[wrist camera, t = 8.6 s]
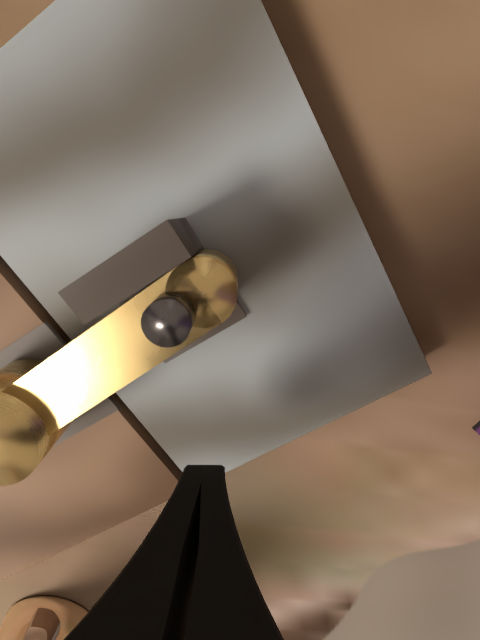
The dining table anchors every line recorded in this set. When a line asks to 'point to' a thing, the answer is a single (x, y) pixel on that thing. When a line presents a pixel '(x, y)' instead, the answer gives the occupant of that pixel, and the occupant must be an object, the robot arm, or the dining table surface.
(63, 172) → the door and jamb
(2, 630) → the beer glass
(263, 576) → the dining table surface
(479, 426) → the purple book
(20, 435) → the swing bar
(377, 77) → the dining table surface
